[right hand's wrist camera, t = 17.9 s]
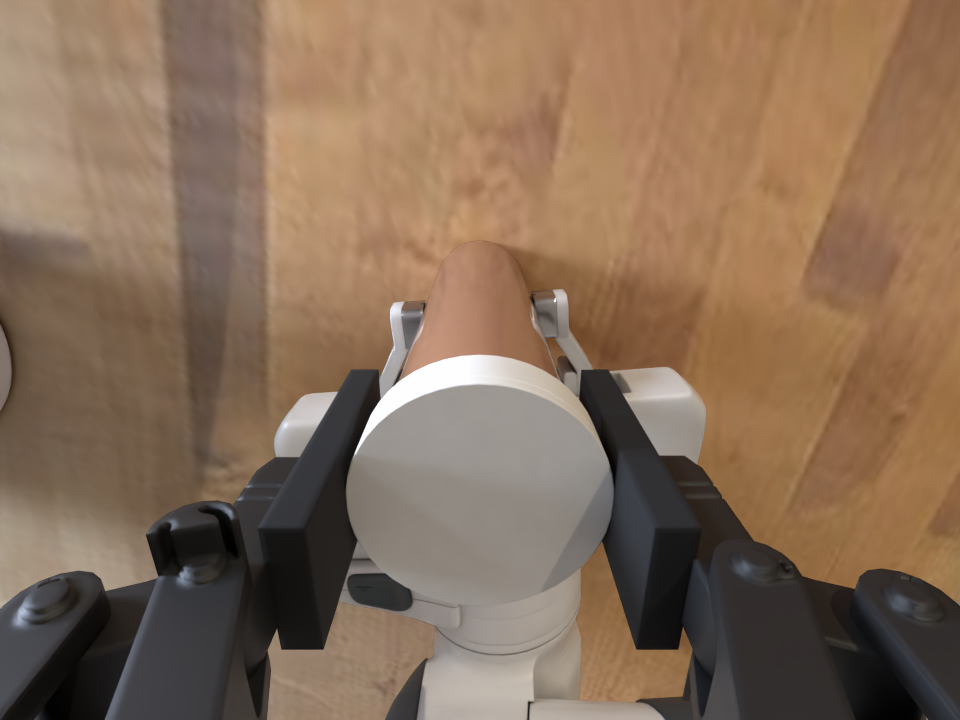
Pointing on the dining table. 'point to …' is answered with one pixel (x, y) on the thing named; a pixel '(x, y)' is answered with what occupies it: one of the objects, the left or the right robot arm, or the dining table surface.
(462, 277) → the brown cylinder
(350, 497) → the lid
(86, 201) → the dining table surface
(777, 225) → the dining table surface
